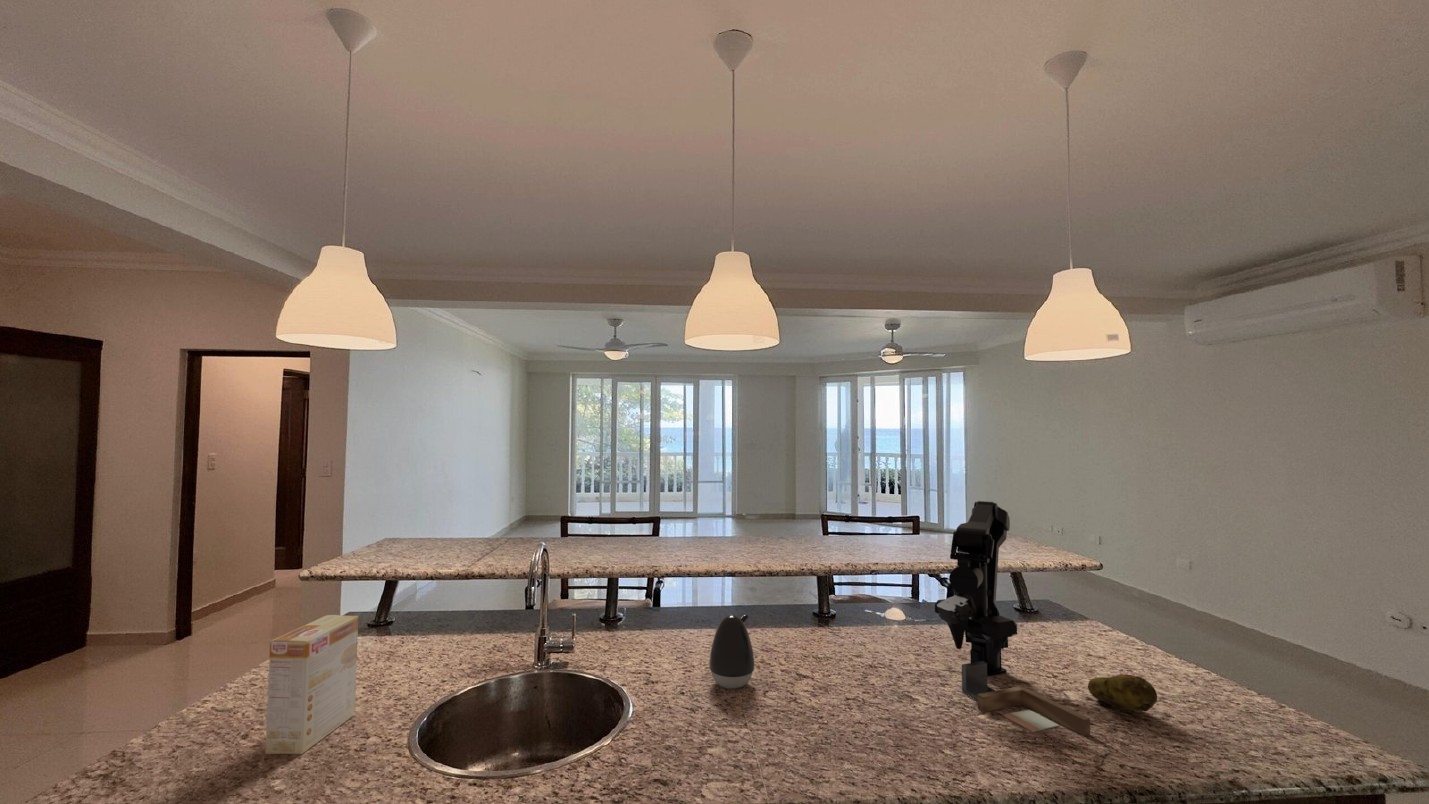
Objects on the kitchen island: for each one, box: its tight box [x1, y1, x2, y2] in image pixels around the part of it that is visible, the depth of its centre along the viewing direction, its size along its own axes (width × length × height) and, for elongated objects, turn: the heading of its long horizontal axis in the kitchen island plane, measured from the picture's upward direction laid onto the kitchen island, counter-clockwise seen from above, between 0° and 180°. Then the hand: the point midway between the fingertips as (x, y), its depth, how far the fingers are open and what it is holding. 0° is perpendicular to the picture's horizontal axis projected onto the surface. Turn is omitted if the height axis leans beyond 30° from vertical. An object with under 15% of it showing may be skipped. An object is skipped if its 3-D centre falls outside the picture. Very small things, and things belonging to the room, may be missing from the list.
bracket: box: [961, 661, 997, 702], centre depth 128 cm, size 6×6×6 cm
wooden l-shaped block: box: [976, 684, 1091, 737], centre depth 117 cm, size 12×16×3 cm
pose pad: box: [1002, 708, 1060, 733], centre depth 117 cm, size 7×7×1 cm
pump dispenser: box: [708, 614, 755, 690], centre depth 134 cm, size 10×10×15 cm
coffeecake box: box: [264, 614, 359, 755], centre depth 111 cm, size 15×7×20 cm, turn 178°
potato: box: [1087, 673, 1158, 712], centre depth 122 cm, size 8×13×8 cm, turn 0°
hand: (974, 655), depth 131 cm, fingers open, 9 cm apart
